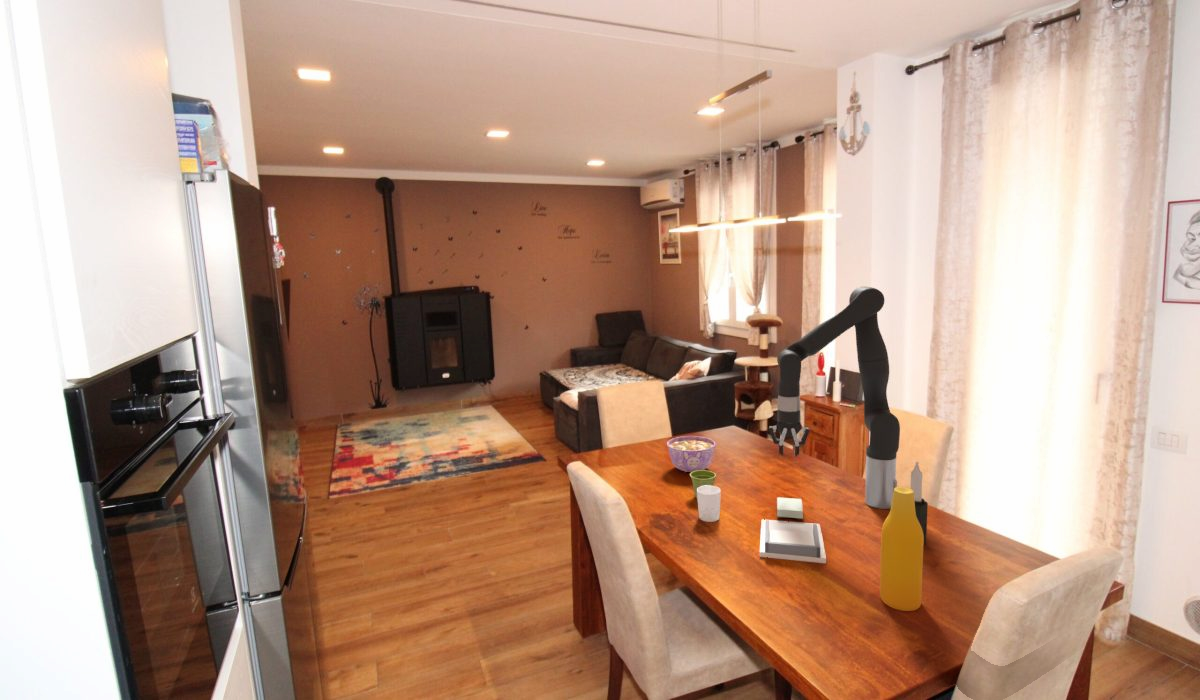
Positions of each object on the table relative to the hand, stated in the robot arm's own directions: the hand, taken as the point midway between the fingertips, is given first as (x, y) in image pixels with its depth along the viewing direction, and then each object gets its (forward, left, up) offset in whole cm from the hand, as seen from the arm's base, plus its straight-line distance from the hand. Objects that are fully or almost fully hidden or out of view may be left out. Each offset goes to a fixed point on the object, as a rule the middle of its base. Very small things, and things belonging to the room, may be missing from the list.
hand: (788, 455), depth 199 cm
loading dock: (0, +29, -17) cm, 33 cm away
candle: (-35, +23, -17) cm, 45 cm away
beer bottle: (-25, +56, -17) cm, 64 cm away
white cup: (+26, +18, -17) cm, 36 cm away
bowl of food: (+38, -26, -17) cm, 49 cm away
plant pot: (+30, +1, -17) cm, 35 cm away
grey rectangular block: (0, +10, -17) cm, 20 cm away
